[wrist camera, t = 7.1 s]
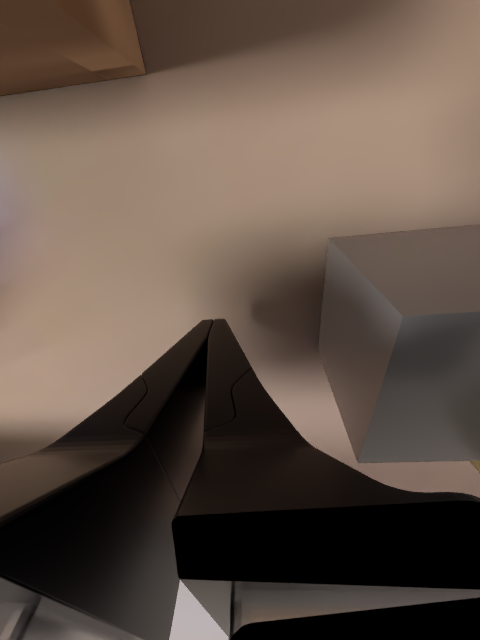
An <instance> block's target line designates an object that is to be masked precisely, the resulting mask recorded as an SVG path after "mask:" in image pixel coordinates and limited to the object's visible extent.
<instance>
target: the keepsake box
mask: <svg viewBox="0 0 480 640" xmlns="http://www.w3.org/2000/svg"><path fill="white" fill-rule="evenodd" d="M144 74H146V72H145V68H144V63H143V59H142V54H141V50H140V45H139V41H138V36H137V32H136V27H135V23H134V18H133V14H132V9H131V5H130V0H0V96H2V95H9V94H16V93H23V92H29V91H36V90H43V89H50V88H56V87H63V86H70V85H77V84H83V83H90V82H97V81H104V80H110V79H117V78H124V77H131V76H137V75H144Z"/></svg>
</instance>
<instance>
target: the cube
mask: <svg viewBox="0 0 480 640" xmlns="http://www.w3.org/2000/svg"><path fill="white" fill-rule="evenodd" d="M318 352H319V355H320V358H321V360H322V363H323V366H324V369H325V372H326V375H327V377H328V380H329V383H330V386H331V389H332V392H333V394H334V397H335V400H336V403H337V406H338V409H339V411H340V414H341V417H342V420H343V423H344V426H345V428H346V431H347V434H348V437H349V440H350V443H351V445H352V448H353V451H354V454H355V457H356V460H357V462H358V463H382V462H430V461H479V460H480V225H469V226H458V227H447V228H435V229H424V230H413V231H402V232H391V233H380V234H368V235H357V236H346V237H335V238H329V239H328V250H327V260H326V271H325V281H324V292H323V302H322V313H321V323H320V334H319V344H318Z"/></svg>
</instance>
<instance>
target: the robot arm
mask: <svg viewBox="0 0 480 640" xmlns="http://www.w3.org/2000/svg"><path fill="white" fill-rule="evenodd" d="M180 580H181V581H182V582H183V583H184V585H185V586H186V587H187V588H188V589H189V591H190V592H191V593H192V594H193V595H194V596H195V598H196V599H197V600H198V601H199V602H200V604H201V605H202V606H203V607H204V608H205V609H206V611H207V612H208V613H209V614H210V615H211V617H212V618H213V619H214V620H215V621H216V623H217V624H218V625H219V626H220V627H221V629H222V630H223V631H224V632H225V633H226V634H227V636H228V637H229V640H480V498H478V497H476V496H473V495H469V494H464V493H453V492H433V493H423V492H411V491H406V490H401V489H397V488H394V487H390V486H387V485H385V484H382V483H380V482H378V481H376V480H374V479H372V478H370V477H368V476H366V475H364V474H362V473H361V472H359V471H357V470H355V469H353V468H351V467H350V466H348V465H346V464H344V463H342V462H340V461H338V460H337V459H335V458H333V457H331V456H329V455H327V454H326V453H324V452H322V451H320V450H318V449H316V448H315V447H313V446H312V445H311V444H309V443H308V442H307V441H306V440H305V439H304V438H303V437H302V436H301V435H300V434H299V432H298V431H297V430H296V429H295V428H294V426H293V425H292V424H291V423H290V421H289V420H288V419H287V417H286V416H285V415H284V414H283V412H282V411H281V410H280V409H279V407H278V406H277V405H276V404H275V402H274V401H273V400H272V398H271V397H270V396H269V394H268V393H267V392H266V390H265V389H264V387H263V386H262V384H261V383H260V381H259V379H258V378H257V376H256V374H255V372H254V370H253V369H252V367H251V365H250V363H249V361H248V360H247V358H246V356H245V354H244V352H243V350H242V349H241V347H240V345H239V343H238V341H237V339H236V338H235V336H234V334H233V332H232V330H231V328H230V327H229V325H228V323H227V321H226V319H215V320H212V319H211V320H202V321H201V322H200V323H199V324H197V325H196V326H195V327H194V328H193V329H192V330H191V331H190V332H188V333H187V334H186V335H185V336H184V337H183V338H182V339H180V340H179V341H178V342H177V343H176V344H175V345H174V346H173V347H171V348H170V349H169V350H168V351H167V352H166V353H165V354H164V355H162V356H161V357H160V358H159V359H158V360H157V361H156V362H154V363H153V364H152V365H151V366H150V367H149V368H148V369H147V370H145V371H144V372H143V373H142V375H140V376H139V377H137V378H136V379H135V380H134V381H133V382H132V383H131V384H129V385H128V386H127V387H126V388H125V389H124V390H122V391H121V392H120V393H119V394H118V395H116V396H115V397H114V398H112V399H111V400H110V401H109V402H107V403H106V404H105V405H103V406H102V407H101V408H100V409H98V410H97V411H96V412H94V413H93V414H92V415H90V416H89V417H88V418H86V419H85V420H84V421H82V422H81V423H80V424H78V425H77V426H76V427H74V428H73V429H72V430H70V431H69V432H68V433H66V434H65V435H64V436H62V437H61V438H60V439H58V440H57V441H55V442H54V443H52V444H51V445H49V446H47V447H46V448H44V449H42V450H40V451H38V452H35V453H33V454H30V455H28V456H25V457H22V458H19V459H15V460H12V461H8V462H5V463H1V464H0V640H169V637H170V631H171V626H172V620H173V615H174V609H175V604H176V598H177V592H178V587H179V581H180Z"/></svg>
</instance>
